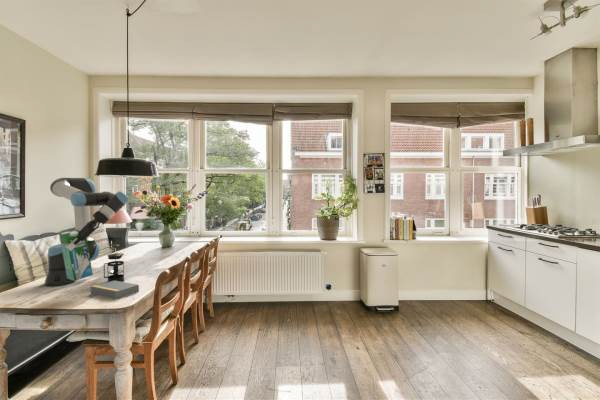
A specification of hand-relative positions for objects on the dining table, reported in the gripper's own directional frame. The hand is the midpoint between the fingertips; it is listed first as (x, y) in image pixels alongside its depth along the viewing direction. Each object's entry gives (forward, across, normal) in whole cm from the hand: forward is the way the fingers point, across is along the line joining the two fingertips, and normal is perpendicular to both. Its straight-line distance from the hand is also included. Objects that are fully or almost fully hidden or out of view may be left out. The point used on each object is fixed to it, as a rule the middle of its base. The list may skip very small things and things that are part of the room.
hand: (68, 248), depth 170 cm
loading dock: (+4, -3, -34) cm, 34 cm away
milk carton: (+8, +4, -16) cm, 18 cm away
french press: (-1, +21, -39) cm, 44 cm away
